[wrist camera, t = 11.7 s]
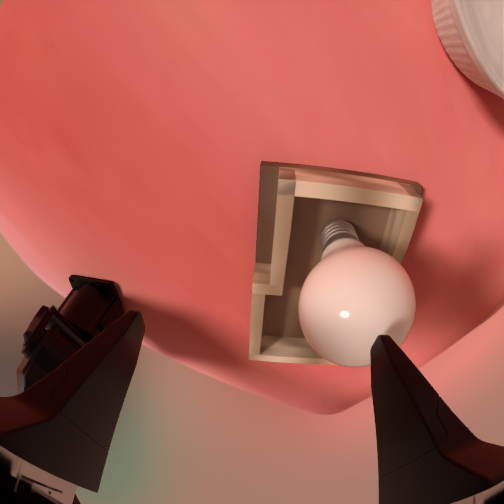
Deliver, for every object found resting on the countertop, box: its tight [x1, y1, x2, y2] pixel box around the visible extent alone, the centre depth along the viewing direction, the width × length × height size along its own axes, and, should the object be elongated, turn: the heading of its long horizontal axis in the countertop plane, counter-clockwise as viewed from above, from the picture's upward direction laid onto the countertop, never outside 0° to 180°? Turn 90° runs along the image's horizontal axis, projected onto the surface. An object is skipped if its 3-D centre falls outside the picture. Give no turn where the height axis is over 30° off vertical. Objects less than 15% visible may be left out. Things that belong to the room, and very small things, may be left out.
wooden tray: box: [249, 161, 423, 364], centre depth 22 cm, size 12×18×4 cm, turn 178°
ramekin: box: [431, 0, 504, 100], centre depth 8 cm, size 11×11×5 cm
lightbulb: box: [298, 220, 416, 367], centre depth 16 cm, size 6×6×11 cm
